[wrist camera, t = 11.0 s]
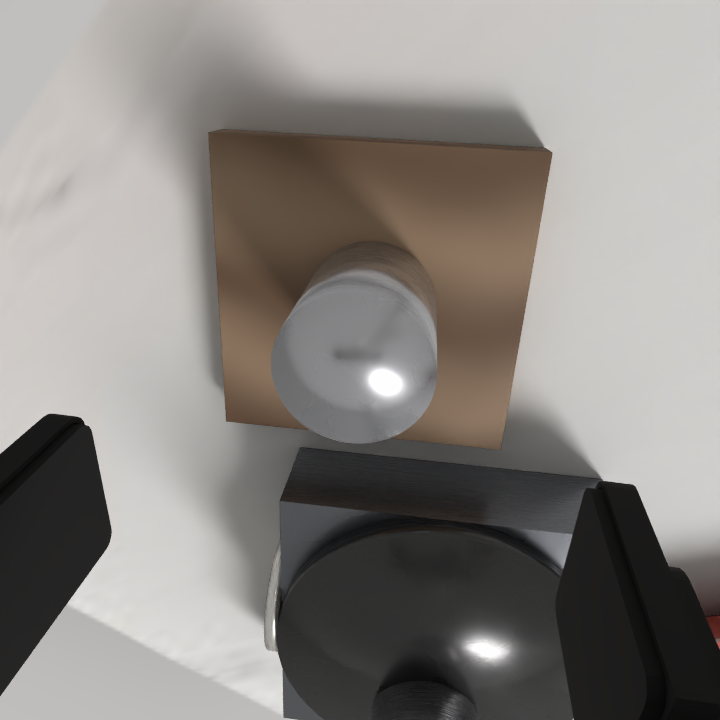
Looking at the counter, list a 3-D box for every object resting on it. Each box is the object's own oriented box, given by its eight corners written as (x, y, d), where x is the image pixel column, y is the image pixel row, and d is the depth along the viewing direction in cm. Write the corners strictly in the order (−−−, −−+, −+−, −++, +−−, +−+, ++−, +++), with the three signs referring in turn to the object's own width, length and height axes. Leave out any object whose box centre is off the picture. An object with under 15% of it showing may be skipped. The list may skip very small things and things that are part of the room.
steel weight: (309, 236, 22) (268, 286, 17) (442, 245, 22) (445, 300, 16) (308, 357, 24) (272, 435, 19) (430, 367, 24) (429, 450, 19)
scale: (285, 437, 29) (252, 514, 24) (598, 470, 28) (635, 558, 22) (288, 638, 35) (262, 734, 30) (545, 673, 34) (564, 779, 29)
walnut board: (222, 129, 22) (208, 132, 21) (545, 148, 21) (552, 152, 20) (236, 404, 28) (226, 421, 26) (497, 431, 27) (500, 449, 25)
